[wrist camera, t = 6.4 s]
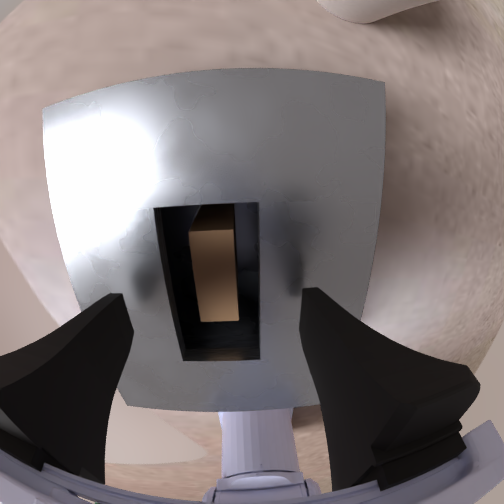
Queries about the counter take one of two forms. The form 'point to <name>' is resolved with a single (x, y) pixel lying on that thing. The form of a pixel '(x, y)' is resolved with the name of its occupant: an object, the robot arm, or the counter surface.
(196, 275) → the brown block
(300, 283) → the money box
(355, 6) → the dixie cup
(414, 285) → the counter surface
